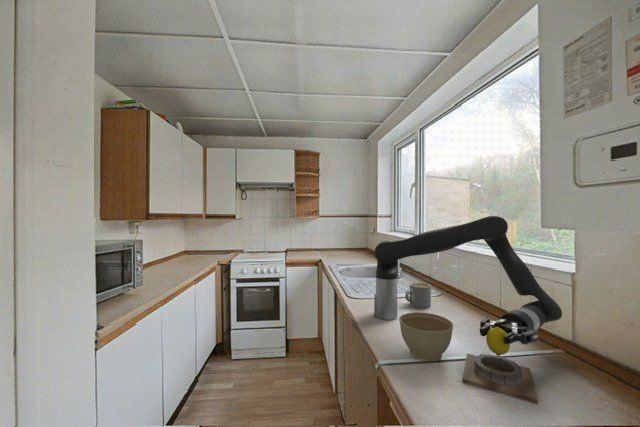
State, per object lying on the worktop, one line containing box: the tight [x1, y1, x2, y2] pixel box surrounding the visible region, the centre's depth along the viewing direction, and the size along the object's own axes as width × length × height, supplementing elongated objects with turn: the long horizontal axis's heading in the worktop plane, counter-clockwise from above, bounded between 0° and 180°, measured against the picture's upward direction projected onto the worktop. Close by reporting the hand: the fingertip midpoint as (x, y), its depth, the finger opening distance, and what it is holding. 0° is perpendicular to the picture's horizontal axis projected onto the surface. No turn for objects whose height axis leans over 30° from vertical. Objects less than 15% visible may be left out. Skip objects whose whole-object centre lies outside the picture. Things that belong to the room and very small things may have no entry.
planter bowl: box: [398, 311, 454, 362], centre depth 89 cm, size 16×16×11 cm
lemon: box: [485, 327, 511, 356], centre depth 77 cm, size 6×6×8 cm
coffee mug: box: [404, 282, 432, 309], centre depth 139 cm, size 13×10×10 cm
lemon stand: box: [462, 353, 539, 404], centre depth 77 cm, size 16×16×4 cm
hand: (493, 336), depth 76 cm, fingers closed on lemon, 5 cm apart
